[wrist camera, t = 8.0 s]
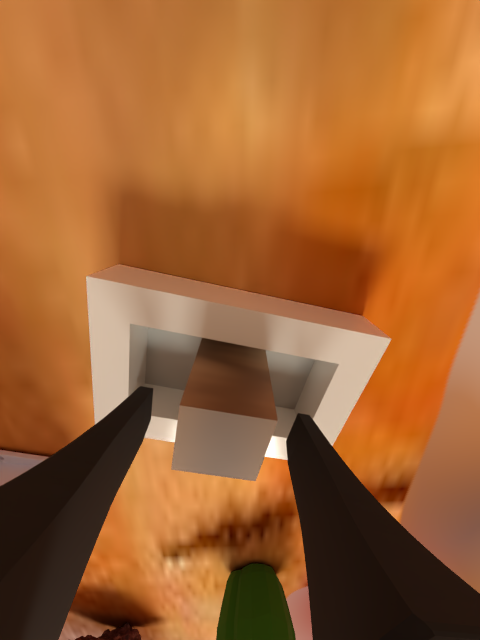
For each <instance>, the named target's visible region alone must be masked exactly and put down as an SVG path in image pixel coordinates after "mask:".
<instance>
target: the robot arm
mask: <svg viewBox="0 0 480 640" xmlns="http://www.w3.org/2000/svg"><path fill="white" fill-rule="evenodd" d="M152 400H153V388H149V387H143V386H140V387H138V388H137V389H136V390H135V391H134V392H133V393H132V394H131V395H130V396H128V397H127V398H126V399H125V400H124V401H123V402H122V403H121V404H119V405H118V406H117V407H116V408H115V409H114V410H112V411H111V412H110V413H109V414H108V415H106V416H105V417H104V418H103V419H102V420H100V421H99V422H98V423H97V424H95V425H94V426H93V427H91V428H90V429H89V430H87V431H86V432H85V433H83V434H82V435H81V436H79V437H78V438H77V439H75V440H74V441H72V442H71V443H70V444H68V445H67V446H65V447H64V448H62V449H61V450H59V451H58V452H56V453H55V454H53V455H52V456H50V457H46V456H39V455H32V454H25V453H19V452H12V451H5V450H0V640H58V639H59V637H60V634H61V631H62V629H63V626H64V623H65V620H66V618H67V615H68V612H69V610H70V607H71V604H72V602H73V599H74V597H75V594H76V591H77V589H78V586H79V584H80V581H81V578H82V576H83V573H84V571H85V568H86V566H87V563H88V561H89V558H90V556H91V553H92V551H93V548H94V546H95V543H96V540H97V538H98V535H99V533H100V531H101V528H102V526H103V523H104V521H105V518H106V516H107V514H108V511H109V509H110V506H111V504H112V502H113V500H114V498H115V495H116V493H117V491H118V489H119V487H120V485H121V483H122V481H123V479H124V477H125V475H126V473H127V471H128V469H129V468H130V466H131V464H132V462H133V460H134V458H135V456H136V454H137V452H138V450H139V448H140V446H141V444H142V442H143V439H144V437H145V434H146V431H147V429H148V426H149V423H150V421H151V413H152ZM286 448H287V458H288V466H289V471H290V476H291V480H292V485H293V490H294V495H295V499H296V504H297V509H298V513H299V518H300V524H301V530H302V538H303V545H304V553H305V562H306V571H307V580H308V588H309V600H310V610H311V622H312V635H313V640H480V594H479V593H478V592H477V591H476V590H474V589H473V588H472V587H471V586H470V585H468V584H467V583H466V582H465V581H464V580H462V579H461V578H460V577H459V576H458V575H456V574H455V573H454V572H452V571H451V570H450V569H449V568H448V567H447V566H445V565H444V564H443V563H442V562H441V561H440V560H439V559H437V558H436V557H435V556H434V555H433V554H432V553H431V552H430V551H428V550H427V549H426V548H425V547H424V546H423V545H422V544H421V543H420V542H419V541H417V540H416V539H415V538H414V537H413V536H412V535H411V534H410V533H409V532H408V531H407V530H406V529H405V528H404V527H403V526H402V525H401V524H400V523H399V522H398V521H397V520H396V519H395V518H394V517H393V516H392V515H391V514H390V513H389V512H388V511H387V510H386V509H385V508H384V507H383V506H382V505H381V504H380V503H379V502H378V501H377V500H376V499H375V498H374V496H373V495H372V494H371V493H370V492H369V491H368V490H367V489H366V488H365V487H364V485H363V484H362V483H361V482H360V481H359V480H358V478H357V477H356V476H355V475H354V474H353V472H352V471H351V470H350V469H349V467H348V466H347V465H346V464H345V462H344V461H343V460H342V459H341V457H340V456H339V455H338V453H337V452H336V451H335V449H334V448H333V447H332V445H331V444H330V443H329V441H328V440H327V438H326V437H325V436H324V434H323V433H322V432H321V430H320V429H319V427H318V426H317V425H316V423H315V422H314V420H313V419H312V418H311V416H310V415H307V414H301V413H298V414H297V416H296V419H295V421H294V423H293V426H292V428H291V430H290V433H289V435H288V437H287V440H286Z"/></svg>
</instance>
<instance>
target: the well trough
mask: <svg viewBox="0 0 480 640" xmlns="http://www.w3.org/2000/svg"><path fill="white" fill-rule="evenodd" d="M86 283H87V300H88V316H89V333H90V350H91V367H92V383H93V400H94V417H95V424H97V423H98V422H99V421H100V420H102V419H103V418H104V417H105V416H106V415H108V414H109V413H110V412H111V411H112V410H114V409H115V408H116V407H117V406H118V405H119V404H121V403H122V402H123V401H124V400H125V399H126V398H127V397H128V396H130V395H131V394H132V393H133V392H134V391H135V390H136V389H137V388H138V387H140V386H143V387H149V388H153V400H152V413H151V421H150V423H149V426H148V429H147V431H146V434H145V437H144V438H150V439H156V440H163V441H169V442H175V437H176V429H177V421H178V413H179V405H180V402H181V399H182V396H183V393H184V390H185V387H186V384H187V381H188V378H189V376H190V373H191V370H192V367H193V364H194V361H195V358H196V355H197V352H198V349H199V346H200V343H201V340H202V338H207V339H212V340H217V341H222V342H227V343H233V344H238V345H243V346H248V347H253V348H258V349H264V350H266V356H267V362H268V368H269V373H270V379H271V385H272V390H273V396H274V402H275V408H276V413H277V419H278V422H277V425H276V427H275V430H274V433H273V435H272V438H271V441H270V443H269V446H268V449H267V451H266V454H265V457H272V458H278V459H284V460H288V458H287V448H286V440H287V437H288V435H289V433H290V430H291V428H292V426H293V423H294V421H295V419H296V416H297V414H298V413H301V414H307V415H310V416H311V418H312V419H313V420H314V422H315V423H316V425H317V426H318V427H319V429H320V430H321V432H322V433H323V434H324V436H325V437H326V438H327V440H328V441H329V443H330V444H331V445H333V444H334V442H335V440H336V438H337V436H338V435H339V433H340V431H341V429H342V427H343V426H344V424H345V422H346V420H347V418H348V417H349V415H350V413H351V411H352V409H353V408H354V406H355V404H356V402H357V400H358V399H359V397H360V395H361V393H362V391H363V390H364V388H365V386H366V384H367V382H368V381H369V379H370V377H371V375H372V373H373V372H374V370H375V368H376V366H377V364H378V363H379V361H380V359H381V357H382V355H383V354H384V352H385V350H386V348H387V346H388V345H389V343H390V341H391V338H390V337H388V336H387V335H386V334H385V333H383V332H382V331H381V330H380V329H379V328H377V327H376V326H375V325H374V324H372V323H371V322H370V321H369V320H367V319H366V318H365V317H364V316H361V315H356V314H352V313H347V312H342V311H337V310H333V309H328V308H323V307H319V306H314V305H309V304H304V303H300V302H295V301H290V300H286V299H281V298H276V297H271V296H267V295H262V294H257V293H253V292H248V291H243V290H239V289H234V288H229V287H224V286H220V285H215V284H210V283H206V282H201V281H196V280H191V279H187V278H182V277H177V276H173V275H168V274H163V273H158V272H154V271H149V270H144V269H140V268H135V267H130V266H126V265H121V264H118V265H115V266H112V267H109V268H107V269H104V270H101V271H99V272H96V273H93V274H90V275H88V276H86Z"/></svg>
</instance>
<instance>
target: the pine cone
mask: <svg viewBox="0 0 480 640" xmlns="http://www.w3.org/2000/svg"><path fill="white" fill-rule="evenodd" d="M75 640H141V636H140V634H139V631H138V630H137V629H133V628H132V627H130V626H129V623H126V624H125V625H124V626H123V627H121V626H120V627H118V628H116V629H114V630H112V631H110V630H109V629H107V630H106V631H104V632H103V634H102V636H100V637H98V638H96V637H93V636H92V635H87V636H86V637H83V636H81V637H79V638H77V639H75Z"/></svg>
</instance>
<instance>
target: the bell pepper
mask: <svg viewBox="0 0 480 640" xmlns="http://www.w3.org/2000/svg"><path fill="white" fill-rule="evenodd" d="M216 640H295V632H294V628H293V624H292V620H291V616H290V612H289V608H288V605H287V601H286V598H285V594H284V591H283V588H282V585H281V583H280V581H279V579H278V578H277V576H276V574H275V572H274V570H273V568H272V567H270V566H267V565H264V564H252V563H251V564H249V565H247V566H245V567H243V569H241V570H236V571H232V572H231V574H230V576H229V578H228V581H227V584H226V589H225V593H224V598H223V602H222V607H221V612H220V617H219V622H218V627H217V638H216Z"/></svg>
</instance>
